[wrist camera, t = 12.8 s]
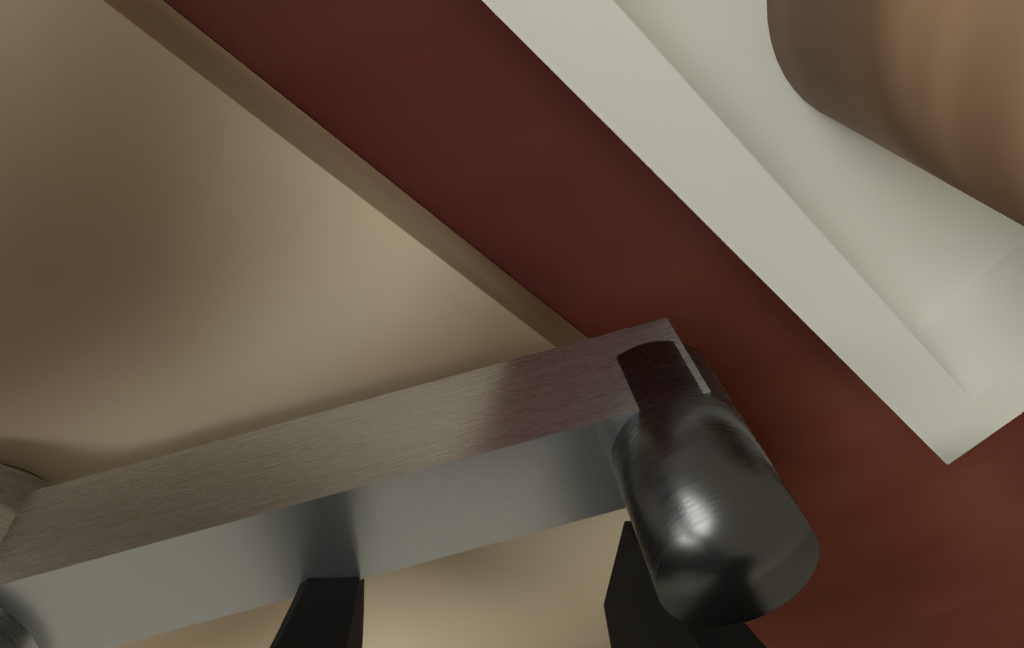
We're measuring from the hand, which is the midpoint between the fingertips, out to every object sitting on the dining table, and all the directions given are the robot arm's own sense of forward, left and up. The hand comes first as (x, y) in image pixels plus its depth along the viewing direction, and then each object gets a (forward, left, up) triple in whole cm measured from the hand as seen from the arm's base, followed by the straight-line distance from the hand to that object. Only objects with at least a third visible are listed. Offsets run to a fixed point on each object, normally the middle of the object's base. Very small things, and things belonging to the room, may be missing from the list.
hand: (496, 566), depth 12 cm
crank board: (-2, -3, -3) cm, 5 cm away
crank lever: (-4, -1, -1) cm, 4 cm away
